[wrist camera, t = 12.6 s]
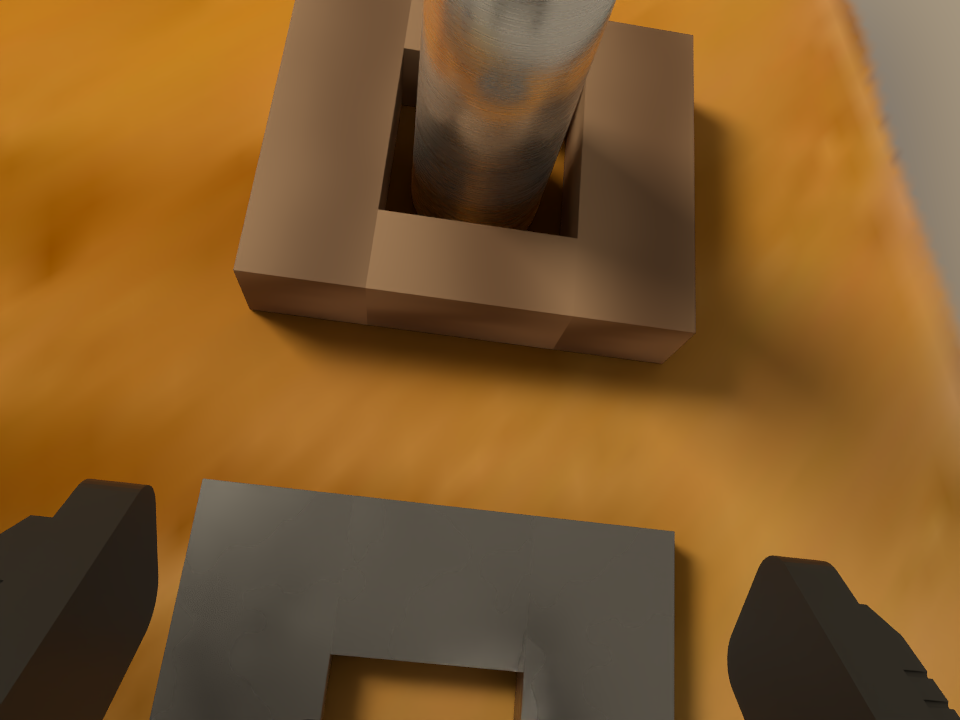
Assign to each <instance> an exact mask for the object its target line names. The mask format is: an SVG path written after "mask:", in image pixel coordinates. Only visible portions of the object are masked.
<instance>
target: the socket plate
mask: <svg viewBox="0 0 960 720" xmlns="http://www.w3.org/2000/svg"><path fill="white" fill-rule="evenodd" d="M332 654H334V655H345V656H356V657H366V658H377V659H388V660H398V661H409V662H420V663H430V664H441V665H452V666H462V667H473V668H484V669H494V670H505V671H516V672H517V678H516V692H515V707H514V720H674V532H673V531H664V530H655V529H647V528H638V527H629V526H620V525H611V524H602V523H593V522H584V521H575V520H566V519H557V518H548V517H540V516H531V515H522V514H513V513H504V512H495V511H486V510H477V509H468V508H459V507H450V506H441V505H433V504H424V503H415V502H406V501H397V500H388V499H379V498H370V497H361V496H352V495H343V494H334V493H326V492H317V491H308V490H299V489H290V488H281V487H272V486H263V485H254V484H245V483H236V482H227V481H219V480H210V479H203V481H202V485H201V490H200V495H199V499H198V504H197V508H196V513H195V517H194V522H193V526H192V531H191V535H190V540H189V544H188V549H187V553H186V558H185V562H184V567H183V571H182V576H181V580H180V585H179V589H178V594H177V598H176V603H175V607H174V612H173V616H172V621H171V625H170V630H169V634H168V639H167V643H166V648H165V652H164V657H163V661H162V666H161V670H160V675H159V679H158V684H157V688H156V693H155V697H154V702H153V706H152V711H151V716H150V720H323V715H324V708H325V701H326V695H327V688H328V681H329V674H330V668H331V661H332Z"/></svg>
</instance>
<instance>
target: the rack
mask: <svg viewBox="0 0 960 720" xmlns="http://www.w3.org/2000/svg"><path fill="white" fill-rule="evenodd" d="M422 13H423V0H295V4H294V8H293V13H292V17H291V21H290V26H289V30H288V34H287V39H286V43H285V47H284V52H283V56H282V61H281V65H280V69H279V74H278V78H277V82H276V87H275V91H274V95H273V100H272V104H271V108H270V113H269V117H268V121H267V126H266V130H265V134H264V139H263V143H262V148H261V152H260V156H259V161H258V165H257V169H256V174H255V178H254V182H253V187H252V191H251V195H250V200H249V204H248V208H247V213H246V217H245V221H244V226H243V230H242V235H241V239H240V243H239V248H238V252H237V256H236V261H235V265H234V269H233V270H234V273H235V275H236V277H237V280H238V282H239V285H240V287H241V289H242V292H243V294H244V296H245V299H246V301H247V304H248V306H249V308H250V309H251V310H258V311H266V312H274V313H281V314H289V315H296V316H304V317H311V318H319V319H327V320H334V321H342V322H349V323H357V324H364V325H372V326H380V327H387V328H395V329H402V330H410V331H418V332H425V333H433V334H440V335H448V336H455V337H463V338H471V339H478V340H486V341H493V342H501V343H508V344H516V345H524V346H531V347H539V348H546V349H554V350H562V351H569V352H577V353H584V354H592V355H599V356H607V357H615V358H622V359H630V360H637V361H645V362H653V363H660V364H663V363H664V362H665V361H666V360H667V359H668V358H669V357H670V356H671V355H672V354H673V353H674V352H676V351H677V350H678V349H679V348H680V347H681V346H682V345H683V344H684V343H685V342H686V341H687V340H689V339H690V338H691V337H692V336H693V335H694V334H695V333H696V305H695V190H694V76H693V35H689V34H683V33H677V32H671V31H665V30H659V29H654V28H648V27H642V26H636V25H630V24H624V23H619V22H613V21H608V22H607V25H606V28H605V30H604V33H603V36H602V38H601V41H600V44H599V46H598V49H597V52H596V54H595V57H594V60H593V62H592V65H591V68H590V70H589V73H588V76H587V78H586V81H585V84H584V86H583V89H582V92H581V94H580V97H579V100H578V102H577V105H576V108H575V110H574V113H573V116H572V118H571V121H570V124H569V126H568V129H567V132H566V145H565V161H564V177H563V193H562V209H561V225H560V236H557V235H550V234H543V233H536V232H530V231H523V230H516V229H509V228H502V227H495V226H488V225H481V224H474V223H468V222H461V221H454V220H447V219H440V218H433V217H426V216H419V215H413V214H406V213H399V212H392V211H385V209H386V202H387V196H388V189H389V183H390V177H391V170H392V164H393V157H394V151H395V145H396V138H397V132H398V125H399V119H400V113H401V106H402V104H403V105H409V106H415V107H416V104H417V89H418V74H419V59H420V44H421V28H422Z"/></svg>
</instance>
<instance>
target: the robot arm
mask: <svg viewBox="0 0 960 720" xmlns="http://www.w3.org/2000/svg"><path fill="white" fill-rule="evenodd" d="M157 589H158V559H157V530H156V502H155V494H154V490H153V488H152V487H151V486H149V485H142V484H133V483H123V482H114V481H105V480H96V479H86V480H84V481H82V482H81V483H80V484H79V485H78V486H77V488H76V489H75V490H74V491H73V493H72V494H71V495H70V496H69V498H68V499H67V500H66V502H65V503H64V504H63V505H62V507H61V508H60V509H59V510H58V512H57V513H56V514H55V516H54V517H53V518H51V517H42V516H32V515H30V516H29V517H27V518H26V519H24V520H22V521H21V522H19V523H17V524H16V525H14V526H13V527H11V528H9V529H8V530H6V531H4V532H3V533H1V534H0V720H103V718H104V716H105V714H106V712H107V710H108V708H109V706H110V703H111V701H112V699H113V697H114V695H115V693H116V691H117V689H118V687H119V685H120V683H121V681H122V679H123V677H124V675H125V673H126V671H127V669H128V667H129V665H130V663H131V661H132V659H133V657H134V655H135V653H136V651H137V649H138V647H139V645H140V643H141V641H142V639H143V637H144V635H145V633H146V631H147V628H148V626H149V623H150V620H151V617H152V614H153V610H154V606H155V602H156V596H157ZM727 665H728V674H729V679H730V683H731V687H732V689H733V692H734V694H735V697H736V699H737V702H738V704H739V707H740V709H741V712H742V714H743V717H744V719H745V720H960V717H959V716H958V715H957V713H956V712H955V710H953V709H949V707H948V700H947V699H946V698H945V696H944V695H943V693H942V692H941V690H940V689H939V688H938V686H937V685H936V683H935V682H934V681H933V679H928V678H927V671H926V669H925V668H924V666H923V665H922V664H921V662H920V661H919V659H918V658H917V656H916V655H915V654H914V652H913V651H912V649H911V648H910V647H909V645H908V644H907V642H906V641H905V640H904V638H903V637H902V636H901V635H900V634H899V633H898V632H897V631H896V630H894V629H893V628H892V627H891V626H890V625H889V624H888V623H886V622H885V621H884V620H883V619H882V618H881V617H880V616H879V615H877V614H876V613H875V612H874V611H873V610H872V609H871V608H869V607H868V606H867V605H864V604H859V603H858V602H857V600H856V599H855V597H854V596H853V594H852V593H851V591H850V590H849V588H848V587H847V585H846V584H845V582H844V581H843V579H842V578H841V576H840V575H839V573H838V572H837V571H836V569H835V568H834V567H833V566H832V565H831V564H830V563H828V562H825V561H818V560H808V559H799V558H790V557H781V556H769V557H767V558H765V559H764V560H763V561H762V563H761V564H760V566H759V568H758V571H757V573H756V576H755V578H754V581H753V583H752V586H751V588H750V591H749V593H748V595H747V598H746V600H745V603H744V605H743V608H742V610H741V613H740V615H739V618H738V620H737V623H736V625H735V628H734V630H733V633H732V635H731V638H730V641H729V646H728V656H727Z"/></svg>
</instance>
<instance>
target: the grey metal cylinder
mask: <svg viewBox="0 0 960 720" xmlns="http://www.w3.org/2000/svg"><path fill="white" fill-rule="evenodd" d="M615 1H616V0H423V13H422V28H421V44H420V59H419V74H418V89H417V104H416V119H415V134H414V150H413V165H412V180H411V197H412V201H413V205H414V207H415V210H416V212H417V214H418V215H419V216H426V217H433V218H440V219H447V220H454V221H461V222H468V223H474V224H481V225H488V226H495V227H502V228H509V229H516V230H523V231H525V230H526V229H527V228H528V227H529V225H530V224H531V222H532V221H533V218H534V216H535V214H536V212H537V209H538V206H539V204H540V201H541V198H542V196H543V193H544V190H545V188H546V185H547V182H548V180H549V177H550V174H551V172H552V169H553V166H554V164H555V161H556V158H557V156H558V153H559V150H560V148H561V145H562V142H563V140H564V137H565V134H566V132H567V129H568V126H569V124H570V121H571V118H572V116H573V113H574V110H575V108H576V105H577V102H578V100H579V97H580V94H581V92H582V89H583V86H584V84H585V81H586V78H587V76H588V73H589V70H590V68H591V65H592V62H593V60H594V57H595V54H596V52H597V49H598V46H599V44H600V41H601V38H602V36H603V33H604V30H605V28H606V25H607V22H608V20H609V17H610V14H611V12H612V9H613V6H614V4H615Z"/></svg>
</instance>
